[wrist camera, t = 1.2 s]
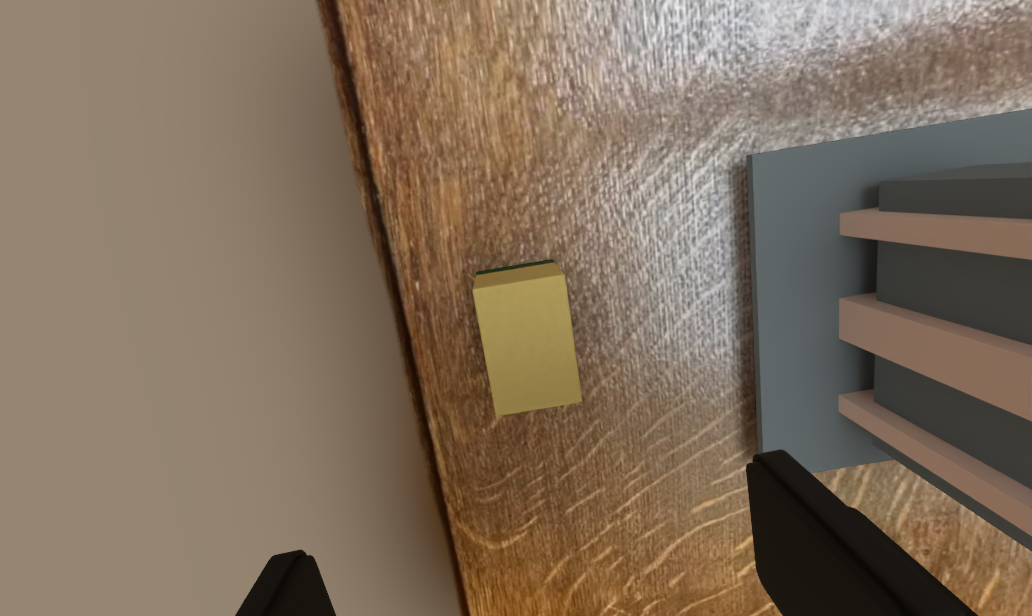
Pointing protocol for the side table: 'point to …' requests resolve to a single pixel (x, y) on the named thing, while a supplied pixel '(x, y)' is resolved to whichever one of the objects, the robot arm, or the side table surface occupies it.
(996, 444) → the desk lamp
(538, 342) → the sponge
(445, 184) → the side table surface
